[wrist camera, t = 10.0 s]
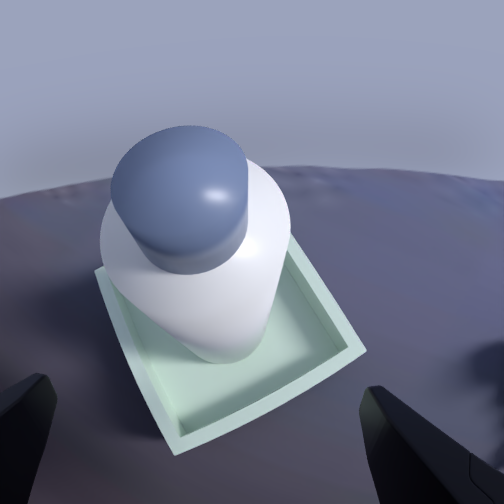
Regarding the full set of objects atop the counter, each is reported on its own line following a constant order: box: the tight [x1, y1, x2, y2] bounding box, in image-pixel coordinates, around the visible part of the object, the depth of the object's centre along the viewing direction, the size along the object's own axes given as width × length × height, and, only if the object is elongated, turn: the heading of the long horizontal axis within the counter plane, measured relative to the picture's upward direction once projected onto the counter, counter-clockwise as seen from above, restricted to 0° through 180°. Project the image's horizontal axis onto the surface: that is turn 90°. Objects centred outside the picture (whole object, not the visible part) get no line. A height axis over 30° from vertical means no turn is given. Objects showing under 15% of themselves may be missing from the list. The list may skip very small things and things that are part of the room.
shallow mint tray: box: [95, 233, 367, 456], centre depth 19 cm, size 12×12×4 cm
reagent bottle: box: [100, 126, 290, 364], centre depth 13 cm, size 5×5×14 cm
